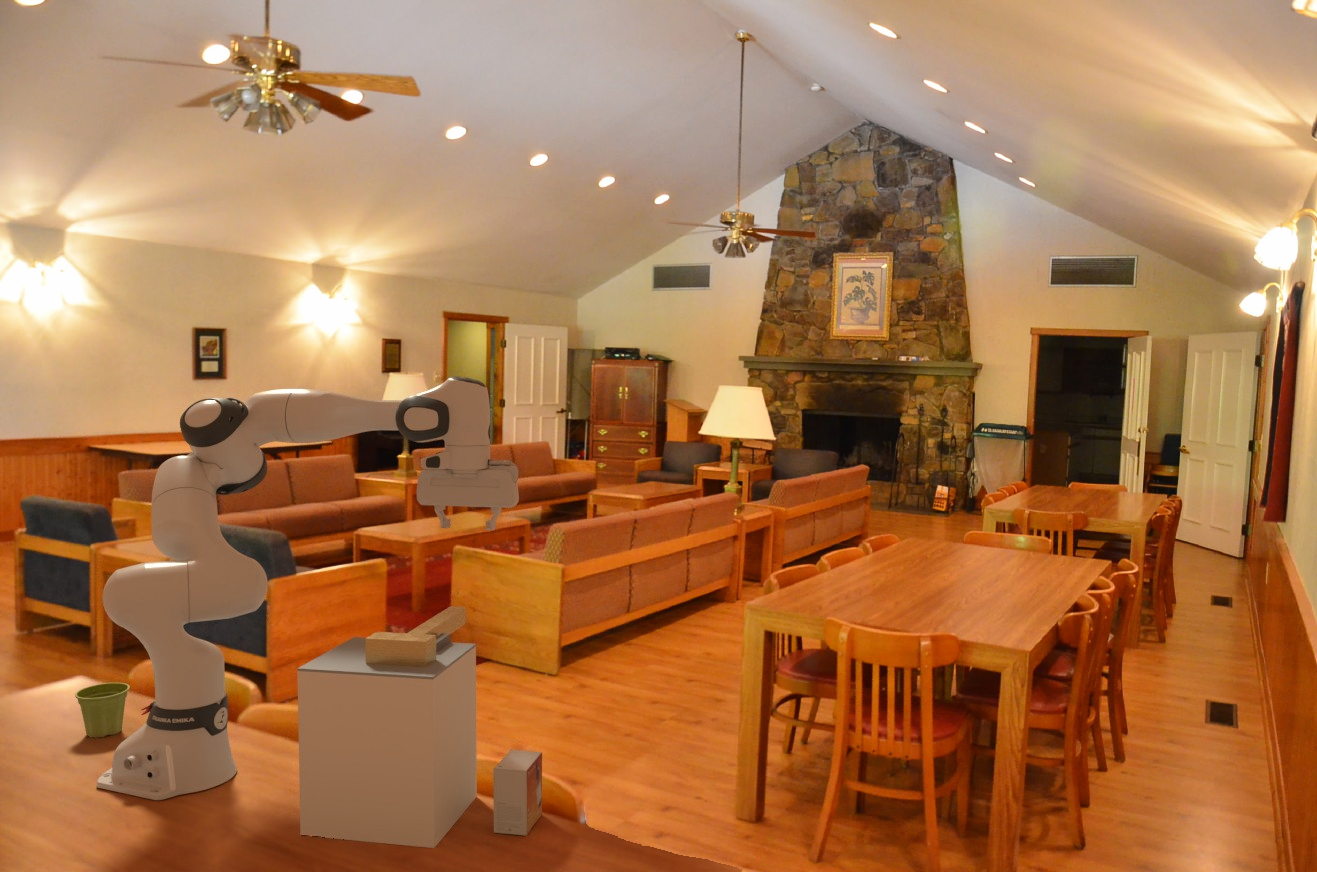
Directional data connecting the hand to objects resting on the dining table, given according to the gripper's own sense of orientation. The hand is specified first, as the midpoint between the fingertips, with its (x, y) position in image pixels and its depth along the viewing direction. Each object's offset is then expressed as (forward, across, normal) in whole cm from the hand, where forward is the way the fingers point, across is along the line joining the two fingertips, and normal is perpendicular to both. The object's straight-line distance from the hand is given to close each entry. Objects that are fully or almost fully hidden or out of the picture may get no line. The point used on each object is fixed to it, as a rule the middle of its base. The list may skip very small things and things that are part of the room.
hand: (468, 528), depth 189 cm
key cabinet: (+41, -1, +37) cm, 55 cm away
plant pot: (+41, +71, +14) cm, 83 cm away
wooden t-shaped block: (+15, -4, +29) cm, 33 cm away
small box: (+41, -22, +36) cm, 59 cm away
